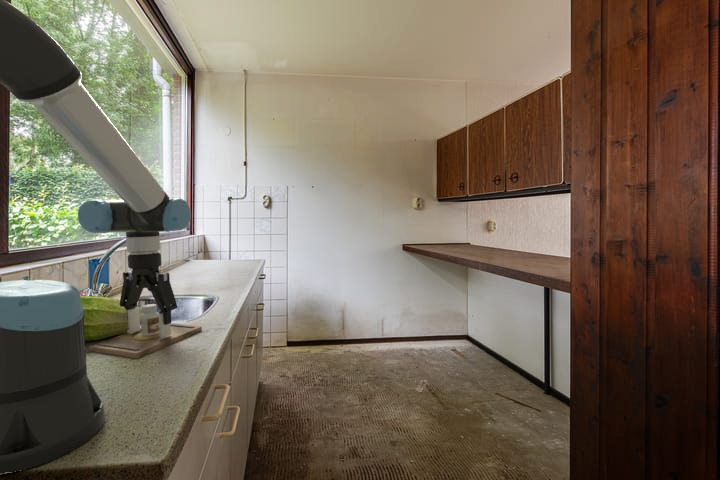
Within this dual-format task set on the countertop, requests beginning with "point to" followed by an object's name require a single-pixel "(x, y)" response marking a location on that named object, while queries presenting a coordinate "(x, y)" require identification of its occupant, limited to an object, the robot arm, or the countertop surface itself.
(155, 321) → the pill bottle
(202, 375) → the countertop surface
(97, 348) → the cutting board
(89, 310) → the green papaya
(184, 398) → the countertop surface
